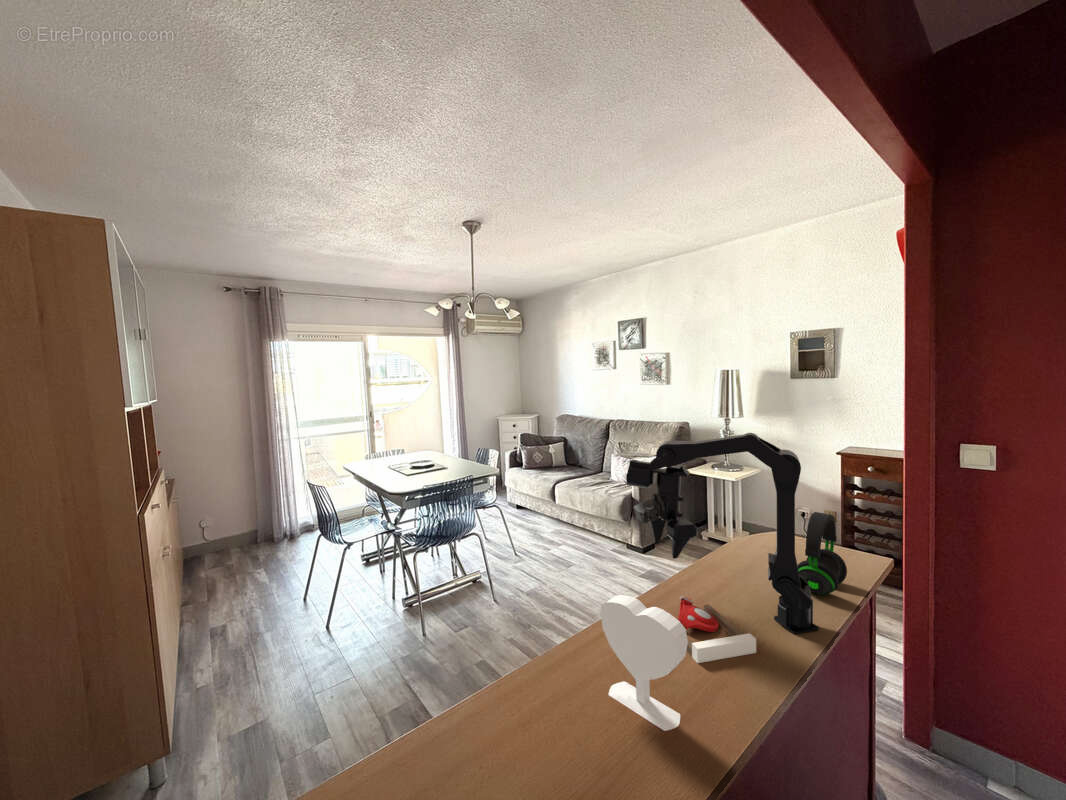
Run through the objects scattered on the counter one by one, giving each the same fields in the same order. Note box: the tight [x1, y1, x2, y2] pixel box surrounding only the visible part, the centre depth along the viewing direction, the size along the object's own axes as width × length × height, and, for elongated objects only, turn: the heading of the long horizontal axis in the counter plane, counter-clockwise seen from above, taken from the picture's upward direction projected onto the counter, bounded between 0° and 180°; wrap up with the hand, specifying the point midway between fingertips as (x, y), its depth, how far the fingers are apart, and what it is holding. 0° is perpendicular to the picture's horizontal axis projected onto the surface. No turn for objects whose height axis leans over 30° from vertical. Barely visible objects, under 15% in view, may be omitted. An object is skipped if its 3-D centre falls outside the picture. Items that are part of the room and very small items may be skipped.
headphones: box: [797, 511, 848, 596], centre depth 116 cm, size 9×16×20 cm, turn 131°
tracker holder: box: [677, 595, 720, 633], centre depth 104 cm, size 12×4×10 cm
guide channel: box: [686, 603, 757, 664], centre depth 99 cm, size 13×17×3 cm
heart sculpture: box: [600, 594, 689, 732], centre depth 78 cm, size 16×5×18 cm, turn 43°
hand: (665, 550), depth 114 cm, fingers open, 9 cm apart
